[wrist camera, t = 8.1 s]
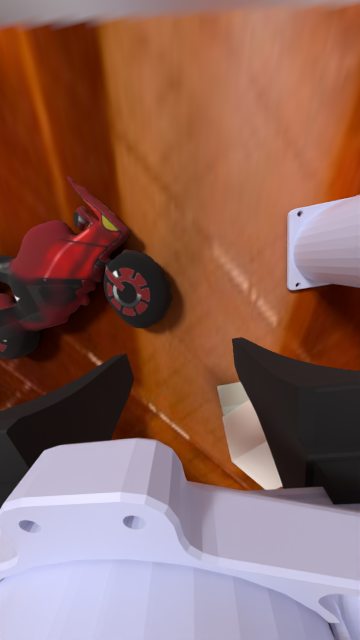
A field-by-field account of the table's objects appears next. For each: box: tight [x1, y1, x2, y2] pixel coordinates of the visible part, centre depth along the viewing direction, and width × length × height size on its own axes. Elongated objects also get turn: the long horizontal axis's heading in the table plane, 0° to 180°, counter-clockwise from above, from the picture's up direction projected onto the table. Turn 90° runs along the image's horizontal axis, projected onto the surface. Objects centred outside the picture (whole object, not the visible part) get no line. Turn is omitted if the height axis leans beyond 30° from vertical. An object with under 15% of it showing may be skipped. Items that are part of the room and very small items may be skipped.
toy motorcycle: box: [0, 176, 172, 359], centre depth 19 cm, size 25×5×16 cm
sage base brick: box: [217, 382, 249, 416], centre depth 23 cm, size 6×6×4 cm
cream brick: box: [222, 400, 282, 490], centre depth 19 cm, size 4×6×5 cm
